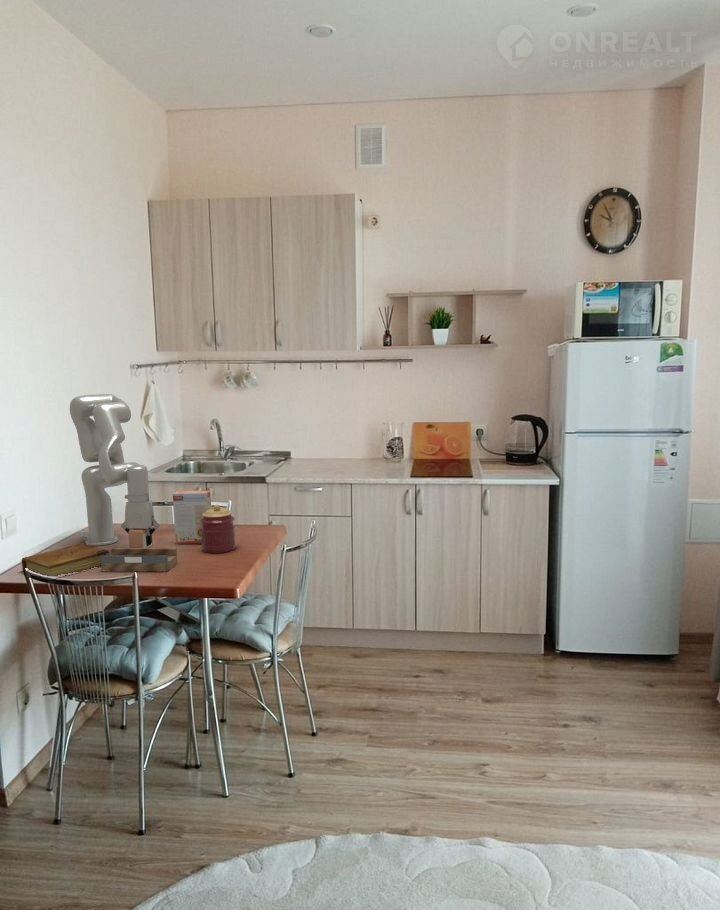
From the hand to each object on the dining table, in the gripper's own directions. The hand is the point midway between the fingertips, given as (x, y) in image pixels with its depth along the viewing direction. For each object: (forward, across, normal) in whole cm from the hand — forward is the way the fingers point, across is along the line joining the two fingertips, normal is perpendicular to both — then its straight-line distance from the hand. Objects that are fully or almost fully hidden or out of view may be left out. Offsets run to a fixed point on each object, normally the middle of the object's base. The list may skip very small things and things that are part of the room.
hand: (141, 544), depth 273 cm
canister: (+4, +27, +9) cm, 29 cm away
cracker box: (+4, +14, +19) cm, 24 cm away
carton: (+4, 0, 0) cm, 4 cm away
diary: (+5, -22, -16) cm, 27 cm away
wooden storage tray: (+4, +5, -15) cm, 17 cm away
